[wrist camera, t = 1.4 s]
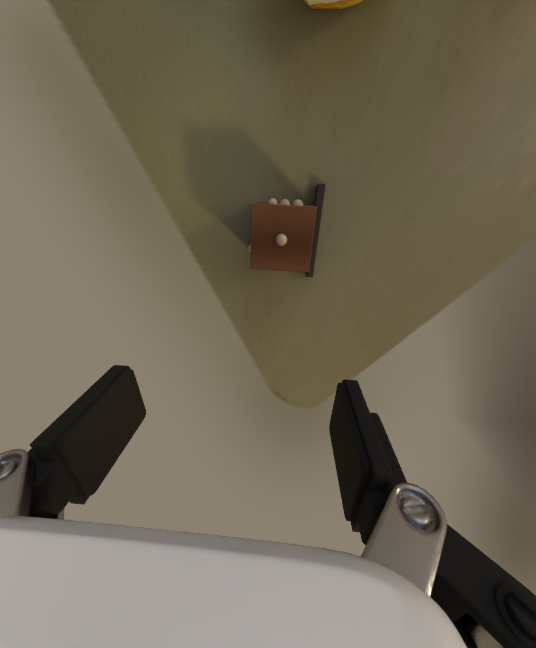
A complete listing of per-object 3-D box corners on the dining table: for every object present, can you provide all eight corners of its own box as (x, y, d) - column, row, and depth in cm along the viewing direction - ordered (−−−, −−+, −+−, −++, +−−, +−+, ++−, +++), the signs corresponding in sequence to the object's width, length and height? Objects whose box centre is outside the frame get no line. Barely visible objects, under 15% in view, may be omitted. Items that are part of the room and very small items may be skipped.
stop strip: (316, 184, 25) (317, 184, 25) (324, 184, 25) (325, 184, 25) (305, 275, 30) (306, 276, 29) (312, 275, 30) (312, 277, 29)
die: (254, 197, 26) (244, 196, 21) (312, 200, 26) (318, 200, 20) (253, 255, 30) (244, 269, 24) (305, 259, 29) (309, 273, 23)
